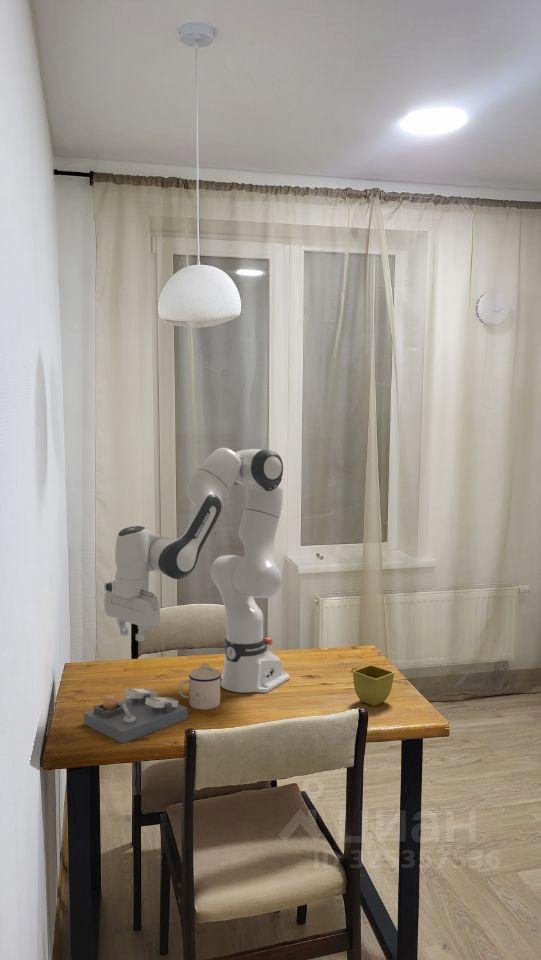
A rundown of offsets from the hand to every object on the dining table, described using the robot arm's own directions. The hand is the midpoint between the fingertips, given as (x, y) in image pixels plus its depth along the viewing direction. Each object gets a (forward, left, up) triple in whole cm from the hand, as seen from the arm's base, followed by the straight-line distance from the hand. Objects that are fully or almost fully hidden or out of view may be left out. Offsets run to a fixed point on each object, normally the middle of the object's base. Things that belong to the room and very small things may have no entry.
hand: (132, 638), depth 196 cm
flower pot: (-54, +42, -22) cm, 71 cm away
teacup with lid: (-18, +8, -22) cm, 29 cm away
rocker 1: (-3, 0, -16) cm, 16 cm away
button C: (+7, 0, -17) cm, 18 cm away
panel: (+2, +4, -21) cm, 22 cm away
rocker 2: (-3, +9, -16) cm, 19 cm away
